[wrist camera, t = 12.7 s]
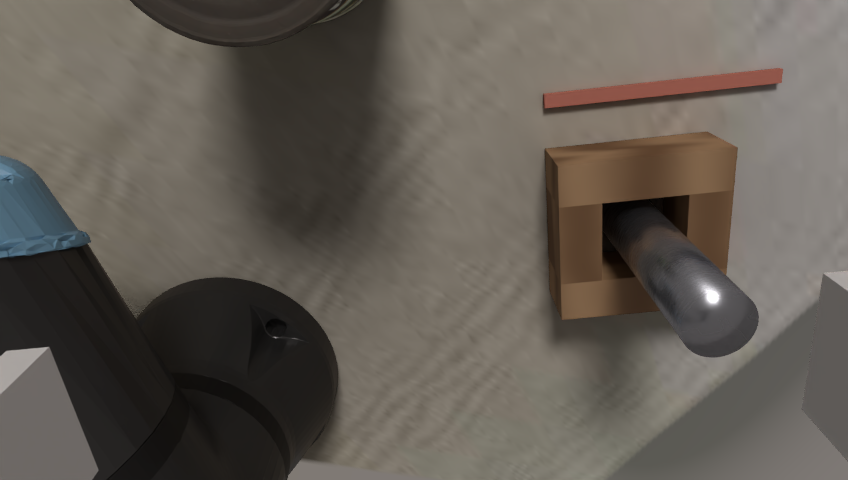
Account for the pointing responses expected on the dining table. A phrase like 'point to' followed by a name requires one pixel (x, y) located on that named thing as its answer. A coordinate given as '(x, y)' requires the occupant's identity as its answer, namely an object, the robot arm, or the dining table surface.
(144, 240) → the dining table surface
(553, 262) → the wooden square frame
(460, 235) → the dining table surface
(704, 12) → the dining table surface
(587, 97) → the thin red bar
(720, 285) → the steel round rod
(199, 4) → the coffee can
